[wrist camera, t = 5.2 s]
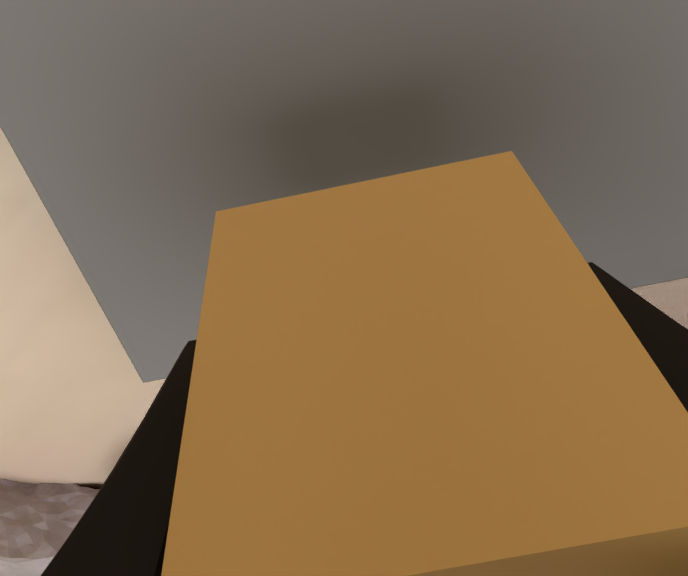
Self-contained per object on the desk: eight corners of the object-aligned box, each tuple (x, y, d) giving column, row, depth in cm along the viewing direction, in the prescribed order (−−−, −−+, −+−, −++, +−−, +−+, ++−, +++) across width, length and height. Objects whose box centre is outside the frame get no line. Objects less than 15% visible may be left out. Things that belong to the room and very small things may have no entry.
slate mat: (818, -359, 11) (850, -367, 11) (693, 258, 20) (707, 273, 19) (-122, -135, 12) (-144, -131, 12) (147, 364, 21) (143, 382, 20)
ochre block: (511, 151, 9) (756, 515, 5) (515, 362, 12) (670, 726, 7) (216, 211, 9) (154, 620, 5) (286, 406, 12) (292, 787, 8)
